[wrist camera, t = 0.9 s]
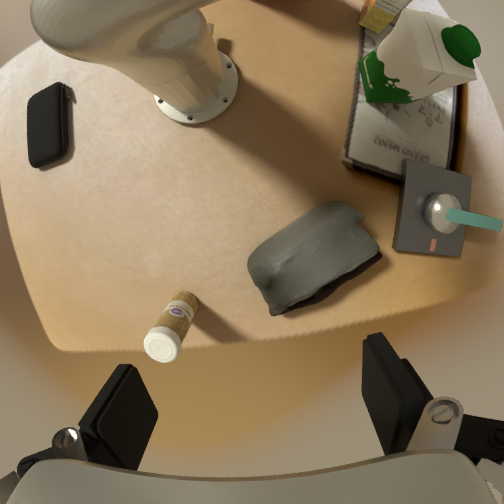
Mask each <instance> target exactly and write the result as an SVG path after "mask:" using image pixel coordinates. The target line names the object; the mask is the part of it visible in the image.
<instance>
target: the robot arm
mask: <svg viewBox="0 0 504 504" xmlns="http://www.w3.org/2000/svg"><path fill="white" fill-rule="evenodd" d="M218 1H220V0H32V1H31V6H30V16H31V22H32V25H33V28H34V30H35V32H36V33H37V35H38V36H39V37H40V38H41V40H42V41H43V42H44V43H45V44H47V45H48V46H49V47H51V48H52V49H53V50H55V51H57V52H59V53H61V54H63V55H65V56H68V57H71V58H73V59H77V60H81V61H85V62H90V63H96V64H101V65H106V66H109V67H112V68H114V69H116V70H118V71H120V72H121V73H123V74H125V75H126V76H128V77H129V78H131V79H132V80H134V81H135V82H137V83H138V84H140V85H141V86H143V87H144V88H146V89H147V90H149V91H150V92H151V93H153V94H154V99H155V102H156V104H157V106H158V108H159V109H160V110H161V112H162V113H164V114H165V115H166V116H167V117H169V118H170V119H172V120H174V121H177V122H180V123H184V124H198V123H203V122H206V121H210V120H212V119H214V118H216V117H217V116H219V115H220V114H221V113H223V112H224V111H225V110H226V109H227V108H228V107H229V106H230V104H231V103H232V101H233V100H234V98H235V95H236V93H237V89H238V74H237V70H236V67H235V65H234V64H233V62H232V60H231V59H230V58H229V57H228V56H227V55H226V54H224V53H223V52H221V51H219V50H217V47H216V45H215V42H214V39H213V37H212V36H213V31H214V25H213V24H211V23H207V21H206V19H205V17H204V15H203V14H202V12H201V11H200V10H199V8H202V7H204V6H207V5H209V4H212V3H215V2H218ZM228 67H231V68H229V69H228ZM225 100H227V101H228V102H227V103H225V102H224V101H225ZM162 101H163V103H162V104H161V102H162ZM191 117H193V120H190V118H191ZM362 362H363V363H362V396H363V399H364V402H365V404H366V407H367V409H368V412H369V414H370V417H371V419H372V422H373V425H374V427H375V430H376V433H377V435H378V438H379V441H380V443H381V446H382V449H383V451H384V454H385V456H382V457H378V458H373V459H369V460H364V461H360V462H356V463H351V464H346V465H341V466H337V467H331V468H325V469H319V470H313V471H307V472H299V473H291V474H282V475H271V476H257V477H232V478H231V477H230V478H229V477H222V478H221V477H220V478H219V477H217V478H216V477H189V476H176V475H164V474H156V473H148V472H140V471H137V469H138V467H139V464H140V462H141V459H142V457H143V454H144V451H145V449H146V447H147V444H148V442H149V439H150V436H151V434H152V431H153V429H154V427H155V424H156V421H157V419H158V411H157V409H156V407H155V405H154V403H153V401H152V399H151V397H150V395H149V393H148V391H147V389H146V387H145V385H144V383H143V381H142V378H141V376H140V374H139V372H138V370H137V368H136V367H134V366H133V365H132V364H119V365H118V366H117V367H116V369H115V370H114V372H113V373H112V375H111V376H110V377H109V379H108V380H107V382H106V383H105V385H104V386H103V387H102V389H101V390H100V392H99V393H98V395H97V396H96V398H95V399H94V401H93V402H92V404H91V405H90V407H89V408H88V410H87V411H86V413H85V414H84V416H83V417H82V419H81V420H80V422H79V423H78V425H79V426H80V430H77V429H76V428H73V427H67V428H63V429H61V430H59V431H58V432H57V433H56V434H55V435H54V437H53V439H52V447H51V448H48V449H46V450H43V451H40V452H38V453H35V454H33V455H30V456H27V457H25V458H23V459H22V460H21V461H20V462H19V464H18V466H17V473H16V472H15V471H13V472H11V473H10V474H8V475H6V476H5V477H3V478H2V479H0V504H497V502H496V500H495V498H494V496H493V494H492V492H491V490H490V488H489V486H488V484H487V482H486V481H488V482H490V483H492V484H493V486H492V487H493V488H495V489H497V490H498V491H499V492H500V493H501V494H502V497H503V499H502V504H504V421H500V420H494V419H488V418H482V417H477V416H472V415H466V414H463V407H462V405H461V404H460V403H459V401H457V400H456V399H454V398H450V397H439V398H435V399H434V398H433V396H432V395H431V394H430V392H429V390H428V389H427V387H426V386H425V384H424V383H423V382H422V380H421V378H420V377H419V376H418V374H417V373H416V371H415V370H414V368H413V367H412V365H411V364H410V362H409V361H408V360H407V359H405V358H404V359H400V358H399V356H398V355H397V354H396V352H395V351H394V349H393V348H392V346H391V345H390V343H389V342H388V340H387V339H386V337H385V336H384V335H383V333H382V332H379V333H375V334H371V335H368V336H367V339H365V340H363V361H362Z"/></svg>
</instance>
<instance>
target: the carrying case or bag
mask: <svg viewBox="0 0 504 504" xmlns="http://www.w3.org/2000/svg"><path fill="white" fill-rule="evenodd" d="M66 99H67V100H68V101H69V100H70V95H69V92H68V88H67V87H66V85H65V84H63V83H61V82H57V83H54V84H52V85H51V86H49V87H47V88H45V89H43V90H41V91H40V92H38V93H36V94H34V95H33V96H32V97H31V98H30V99H29V101H28V105H27V143H28V157H29V162H30V164H31V166H32V167H34V168H39V167H41V166H44V165H46V164H49V163H51V162H54V161H56V160H59V159H61V158H62V157H63V156H64V155H65V153H66V150H67V145H68V136H67V106H66Z"/></svg>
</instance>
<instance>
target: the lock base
mask: <svg viewBox="0 0 504 504" xmlns="http://www.w3.org/2000/svg"><path fill="white" fill-rule="evenodd" d="M471 180H472V177H470V176H467V175H464V174H460V173H457V172H454V171H450V170H447V169H443V168H440V167H436V166H432V165H428V164H424V163H420V162H416V161H412V160H408V159H405V160H403V164H402V176H401V186H400V196H399V204H398V212H397V219H396V226H395V232H394V238H393V244H392V248H393V249H395V250H399V251H409V252H419V253H429V254H438V255H447V256H457V257H460V255H461V250H462V245H463V239H464V234H465V228H466V225H465V224H459V226H458V227H457V228H456V230H454V231H453V232H451V233H448V234H445V233H442V232H439V231H437V230H434V229H432V228H431V227H429V225H428V224H427V222H426V220H425V215H424V210H425V205H426V202H427V200H428V199H429V197H430V196H432V195H433V194H435V193H444V194H450V195H453V196H455V197H456V198H457V199H458V201H459V203H460V205H461V209H462V210H463V211H468V208H469V200H470V191H471Z"/></svg>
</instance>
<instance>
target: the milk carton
mask: <svg viewBox="0 0 504 504" xmlns="http://www.w3.org/2000/svg"><path fill="white" fill-rule="evenodd" d="M480 54H481V48H480V44H479V42H478V40H477V38H476V37H475V35H474V34H473V33H472V32H471V31H470V30H469V29H468V28H467V27H465V26H463V25H460V24H459V23H458V22H456V21H453V20H450V19H447V18H444V17H441V16H437V15H434V14H431V13H428V12H419V11H415V10H411V9H406V8H403V10H402V13H401V15H400V17H399V19H398V21H397V23H396V25H395V27H394V29H393V31H392V32H391V33H390V34H389V35H388V36H387V37H386V38H385V39H384V40H383V41H382V42H381V43H380V44H379V45H378V46H377V47H376V48H375V49H374V50H373V51H372V52H371V53H369V54H368V55H367V56H365V57H364V58H363V59H361V60H360V61H359V62H358V64H359V68H360V72H361V77H362V81H363V86H364V91H365V96H366V101H367V102H380V103H403V104H407V103H411V102H414V101H417V100H419V99H422V98H424V97H427V96H429V95H432V94H434V93H437V92H439V91H442V90H444V89H447V88H450V87H453V86H456V85H459V84H463V83H466V82H469V81H473V80H477V77H476V74H475V71H474V69H475V67H474V64H473V59H474V58H476V57H479V56H480Z"/></svg>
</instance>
